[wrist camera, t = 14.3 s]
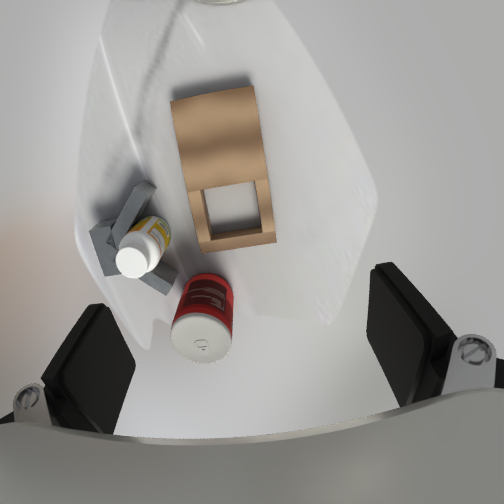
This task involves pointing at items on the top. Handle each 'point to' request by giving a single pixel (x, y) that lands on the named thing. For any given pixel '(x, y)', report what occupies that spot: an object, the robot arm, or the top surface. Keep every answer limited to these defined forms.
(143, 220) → the supplement bottle
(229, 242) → the wooden board with cutout
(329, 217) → the top surface
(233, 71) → the top surface
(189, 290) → the canned food
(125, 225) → the v block
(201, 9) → the top surface
